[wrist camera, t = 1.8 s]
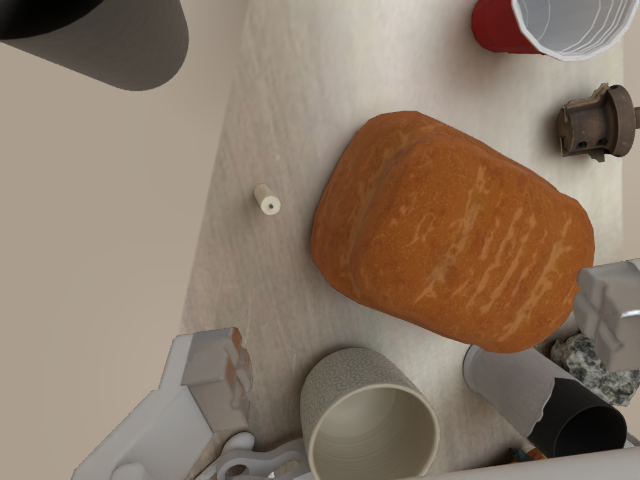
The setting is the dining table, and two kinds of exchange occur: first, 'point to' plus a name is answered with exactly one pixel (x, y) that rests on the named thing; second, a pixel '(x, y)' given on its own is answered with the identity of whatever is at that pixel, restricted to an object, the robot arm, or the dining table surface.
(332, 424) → the planter
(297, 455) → the mechanical component
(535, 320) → the bread
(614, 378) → the rock
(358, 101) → the dining table surface
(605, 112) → the industrial component
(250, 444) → the spoon
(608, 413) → the glass holder
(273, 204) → the candle
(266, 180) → the dining table surface
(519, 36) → the plastic cup
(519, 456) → the mug
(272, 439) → the dining table surface
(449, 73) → the dining table surface
